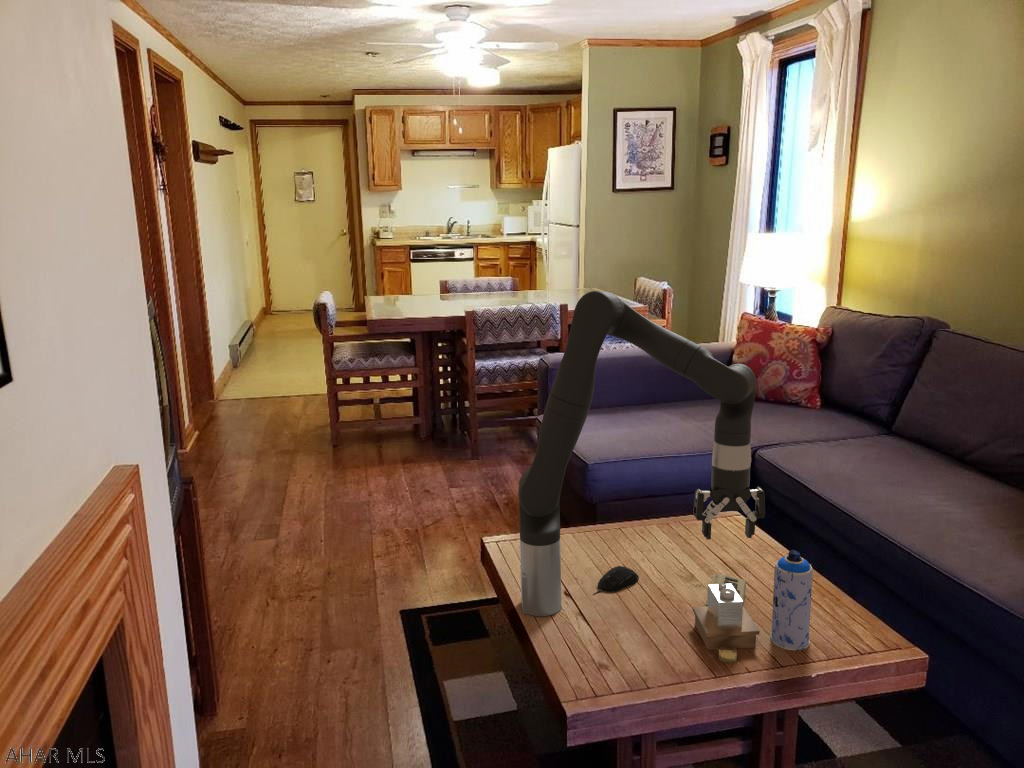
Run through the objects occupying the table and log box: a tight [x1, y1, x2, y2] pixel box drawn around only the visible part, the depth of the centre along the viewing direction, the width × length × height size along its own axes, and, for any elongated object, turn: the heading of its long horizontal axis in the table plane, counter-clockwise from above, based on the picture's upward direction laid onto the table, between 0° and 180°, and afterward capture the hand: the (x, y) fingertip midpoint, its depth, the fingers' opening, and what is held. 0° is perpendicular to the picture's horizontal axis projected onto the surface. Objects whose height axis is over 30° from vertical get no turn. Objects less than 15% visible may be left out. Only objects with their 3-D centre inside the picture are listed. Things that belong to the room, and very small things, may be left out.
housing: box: [707, 583, 744, 629], centre depth 164 cm, size 8×5×7 cm, turn 2°
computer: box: [705, 573, 747, 606], centre depth 181 cm, size 16×8×3 cm, turn 160°
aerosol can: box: [770, 549, 814, 651], centre depth 161 cm, size 8×8×20 cm
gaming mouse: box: [592, 565, 640, 596], centre depth 190 cm, size 6×15×4 cm, turn 131°
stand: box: [692, 605, 761, 651], centre depth 166 cm, size 11×11×4 cm
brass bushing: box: [717, 645, 738, 665], centre depth 158 cm, size 4×4×2 cm
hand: (727, 537), depth 161 cm, fingers open, 8 cm apart
